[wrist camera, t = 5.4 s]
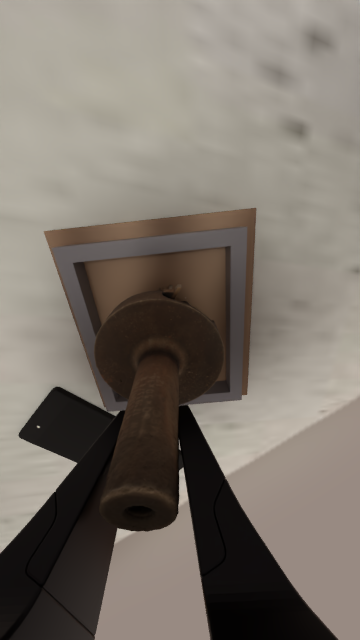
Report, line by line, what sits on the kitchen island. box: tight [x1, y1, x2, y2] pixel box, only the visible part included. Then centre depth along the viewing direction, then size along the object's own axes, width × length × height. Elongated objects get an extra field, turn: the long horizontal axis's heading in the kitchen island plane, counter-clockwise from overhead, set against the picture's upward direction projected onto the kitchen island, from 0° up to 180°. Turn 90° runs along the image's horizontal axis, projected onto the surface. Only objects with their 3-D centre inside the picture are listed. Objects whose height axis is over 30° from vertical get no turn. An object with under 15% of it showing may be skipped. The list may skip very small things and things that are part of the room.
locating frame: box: [52, 227, 247, 412], centre depth 16 cm, size 12×14×2 cm
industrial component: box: [94, 284, 224, 531], centre depth 11 cm, size 9×7×12 cm
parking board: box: [44, 208, 256, 407], centre depth 17 cm, size 14×16×1 cm
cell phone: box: [19, 387, 183, 470], centre depth 24 cm, size 9×18×1 cm, turn 50°
